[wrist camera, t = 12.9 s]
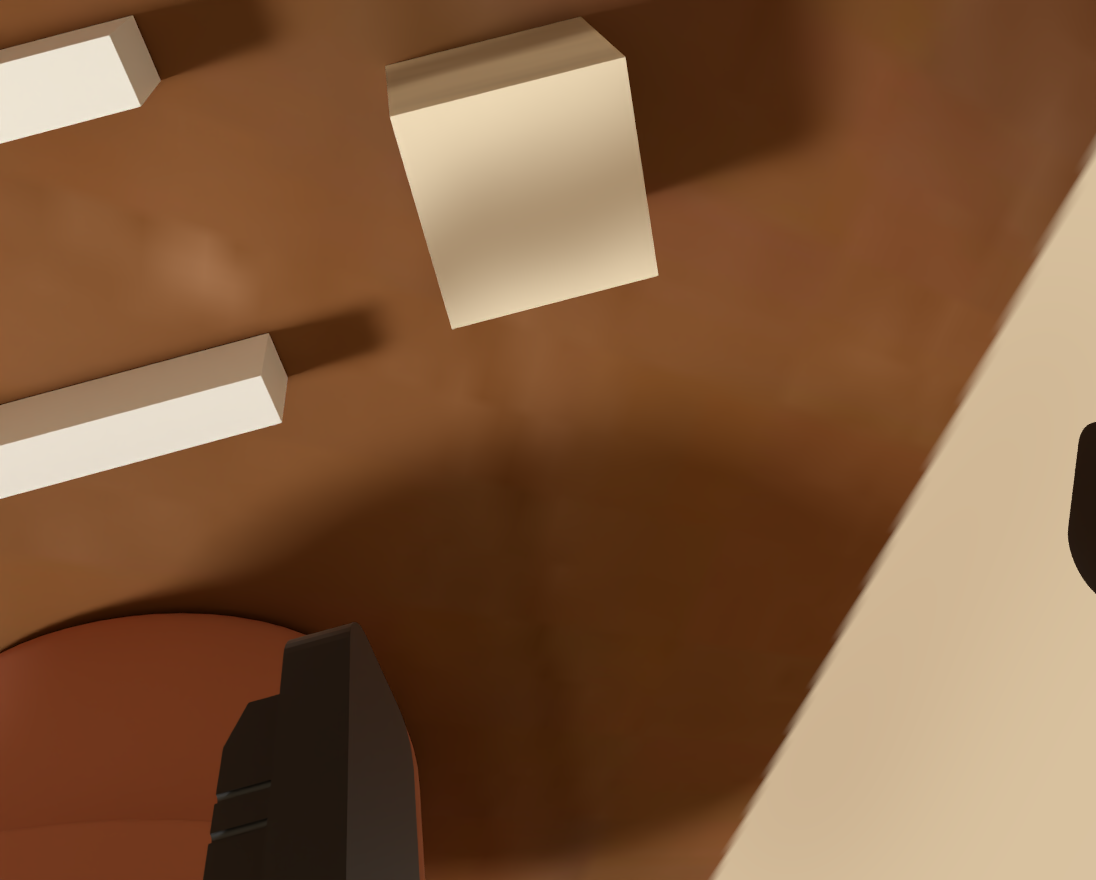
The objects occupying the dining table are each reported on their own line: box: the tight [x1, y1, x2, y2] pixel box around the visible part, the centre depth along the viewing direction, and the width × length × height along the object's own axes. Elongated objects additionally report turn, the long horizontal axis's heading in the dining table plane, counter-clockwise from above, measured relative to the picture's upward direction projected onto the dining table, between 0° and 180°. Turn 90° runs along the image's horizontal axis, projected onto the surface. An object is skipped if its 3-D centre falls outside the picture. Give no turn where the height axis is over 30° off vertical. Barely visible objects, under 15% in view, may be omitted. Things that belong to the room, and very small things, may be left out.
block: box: [385, 17, 658, 329], centre depth 23 cm, size 5×5×5 cm
